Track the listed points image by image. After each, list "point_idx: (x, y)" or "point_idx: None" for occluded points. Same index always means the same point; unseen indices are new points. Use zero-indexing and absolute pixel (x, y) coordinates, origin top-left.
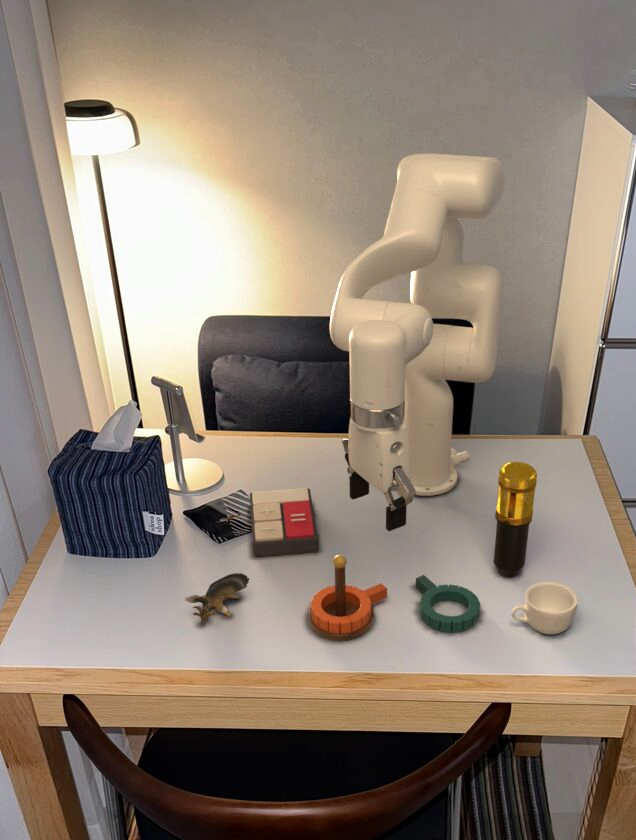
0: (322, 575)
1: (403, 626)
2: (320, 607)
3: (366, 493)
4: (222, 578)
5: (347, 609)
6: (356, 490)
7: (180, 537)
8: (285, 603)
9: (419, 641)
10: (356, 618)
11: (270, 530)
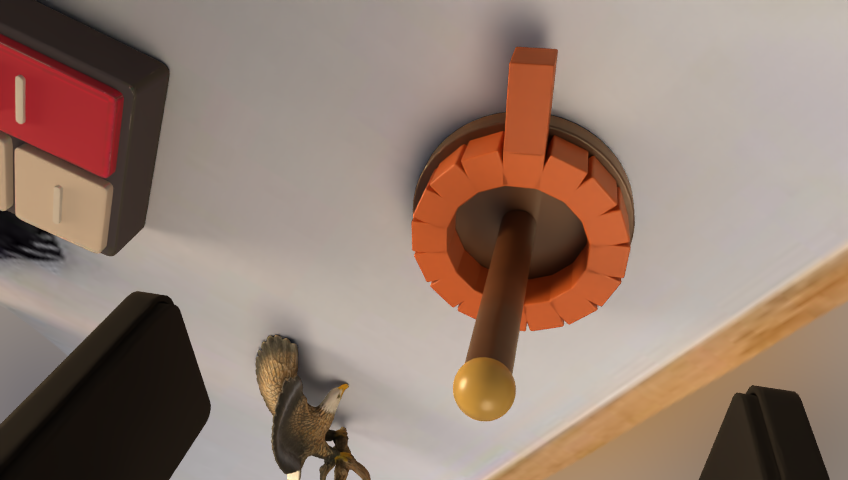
0: (295, 127)
1: (710, 68)
2: None
3: (174, 326)
4: (276, 456)
5: (515, 198)
6: (162, 452)
7: (23, 305)
8: (366, 277)
9: (829, 73)
10: (618, 260)
11: (64, 202)
